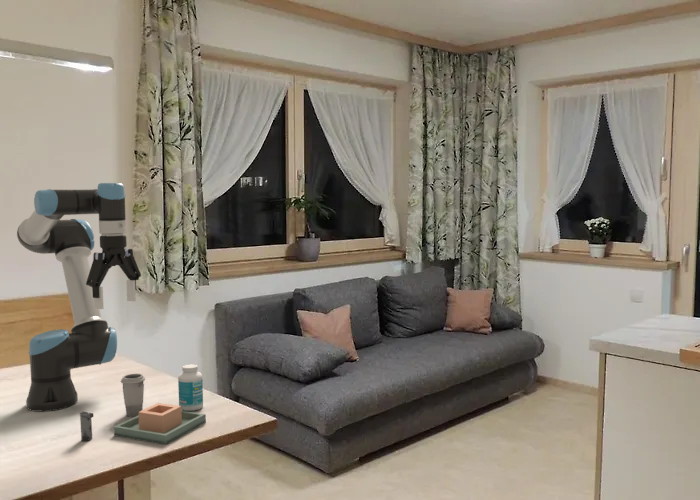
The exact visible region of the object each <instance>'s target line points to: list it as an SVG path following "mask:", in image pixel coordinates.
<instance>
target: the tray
mask: <svg viewBox="0 0 700 500" xmlns="http://www.w3.org/2000/svg"><path fill="white" fill-rule="evenodd" d="M181 412H182V423H181V424H179V425H177V426H175V427H174V428H172V429H170V430H168V431H166V432H164V433H159V432H153V431H147V430H141V429H139V415H138V416H135V417H133V418H132V417H131V418H130V419H128V420H126V421H123V422H121V423H119V424H116V425H115V426H113V436H116V437H120V438H127V439H131V440H136V441H137V440H138V441H144V442H149V443H153V444H155V443H156V444H159V445H160V444H161V445H167V444H170V443H171V442H174V441H175V440H177V439H179V438H180V437H182V436H184V435H186V434H188V433H189V432H192V431H193V430H195V429H197V428H198V427H200V426H202V425H204V424H205V423H207V419H206V417H207V415H206V414H205V413H199V412H195V411H183V410H181Z"/></svg>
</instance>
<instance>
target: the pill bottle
mask: <svg viewBox="0 0 700 500" xmlns="http://www.w3.org/2000/svg"><path fill="white" fill-rule="evenodd" d="M198 370H199V366H198V365H197V364H191V363H190V364H185V365H182V372H181V373H180V374H179V375H178V378H177V381H178V384H177V385H178V406H181V411H188V412H195V411H198V410H200V409H202V408H203V407H204V390H203V388H204V387H203V379H204V378H203V374H202V373H201V372H200V371H198Z"/></svg>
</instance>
